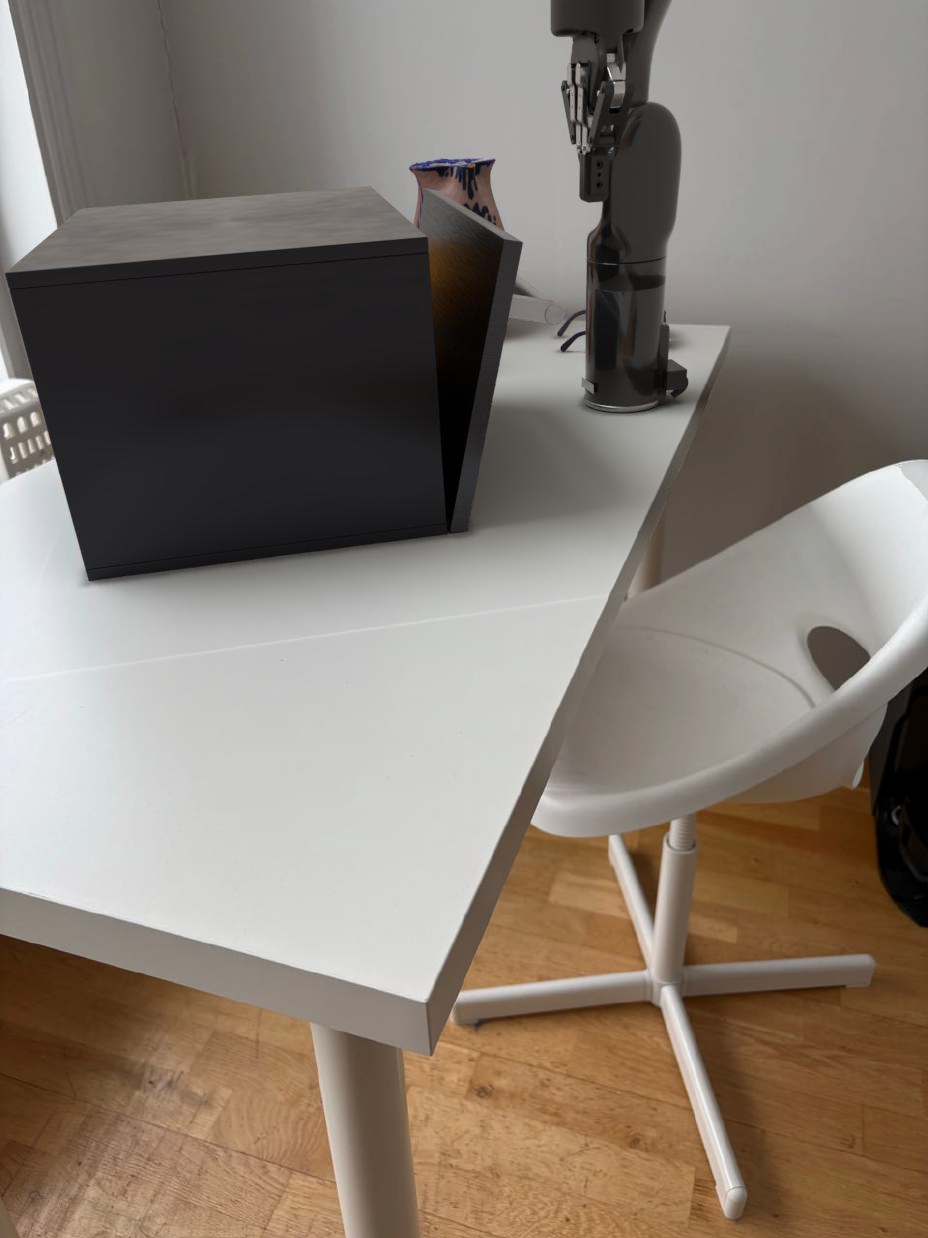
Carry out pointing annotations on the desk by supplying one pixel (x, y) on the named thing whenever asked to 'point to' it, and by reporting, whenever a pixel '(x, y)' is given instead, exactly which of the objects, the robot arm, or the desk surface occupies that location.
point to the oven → (236, 377)
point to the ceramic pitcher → (459, 185)
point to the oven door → (471, 332)
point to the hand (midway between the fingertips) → (593, 200)
